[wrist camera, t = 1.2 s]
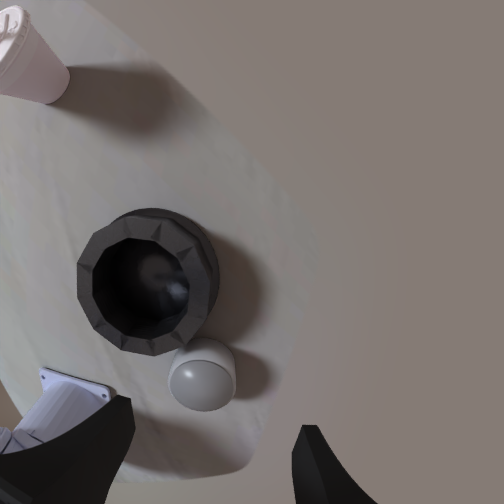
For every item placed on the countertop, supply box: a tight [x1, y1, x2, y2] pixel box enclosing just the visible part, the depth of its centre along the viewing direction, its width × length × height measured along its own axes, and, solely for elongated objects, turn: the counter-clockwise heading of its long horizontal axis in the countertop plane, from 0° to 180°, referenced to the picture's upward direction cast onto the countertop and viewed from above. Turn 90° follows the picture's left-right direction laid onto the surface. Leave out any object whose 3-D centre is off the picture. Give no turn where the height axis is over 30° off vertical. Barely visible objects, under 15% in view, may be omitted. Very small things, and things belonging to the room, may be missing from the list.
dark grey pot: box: [77, 208, 219, 356], centre depth 19 cm, size 10×10×4 cm
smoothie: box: [0, 6, 70, 104], centre depth 11 cm, size 6×6×14 cm
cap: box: [168, 338, 236, 412], centre depth 21 cm, size 5×5×4 cm
